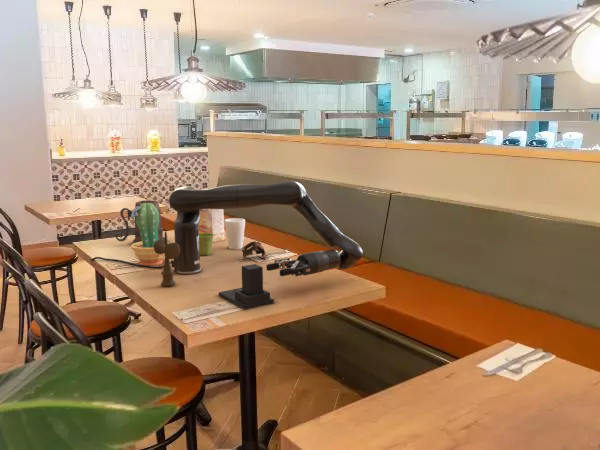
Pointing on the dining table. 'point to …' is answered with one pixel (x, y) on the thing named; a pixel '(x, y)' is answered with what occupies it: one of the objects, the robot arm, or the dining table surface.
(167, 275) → the kendama
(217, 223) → the coffeecake box
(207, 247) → the plant pot
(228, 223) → the foam cup
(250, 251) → the brown curved piece
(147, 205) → the potted cactus
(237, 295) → the base pad
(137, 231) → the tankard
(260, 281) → the post
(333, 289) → the dining table surface
